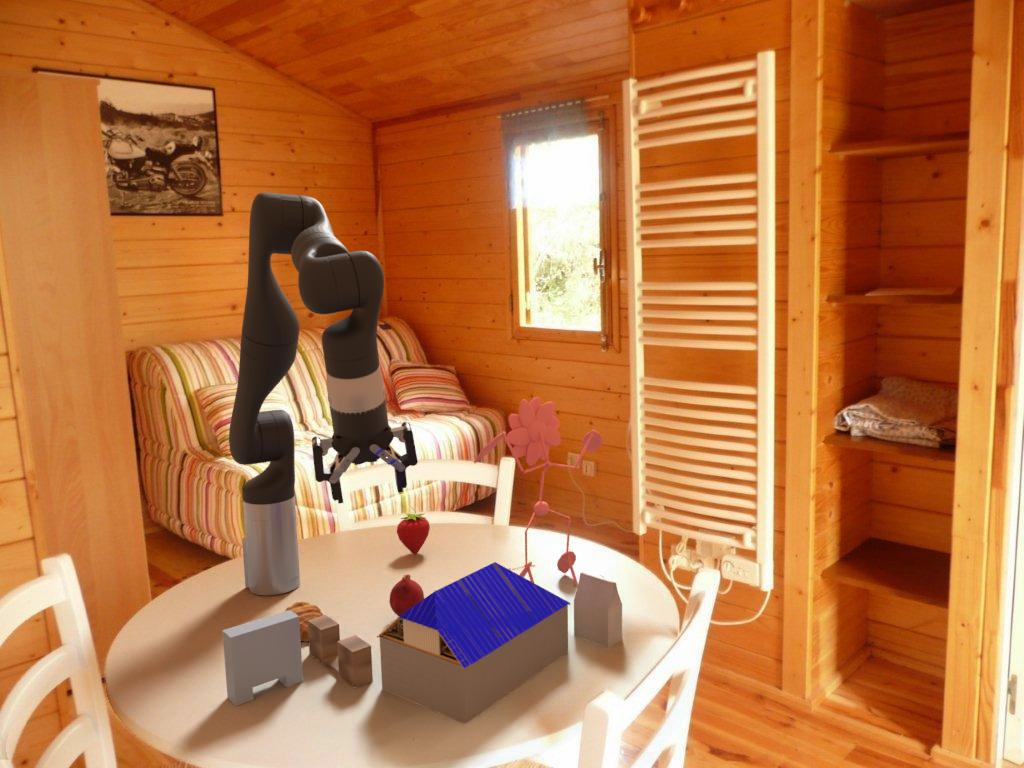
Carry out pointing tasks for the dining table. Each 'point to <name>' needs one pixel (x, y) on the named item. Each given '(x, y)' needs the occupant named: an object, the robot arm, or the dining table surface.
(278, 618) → the grey notched square slab
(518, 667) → the house
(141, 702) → the dining table surface
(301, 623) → the pastry
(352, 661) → the walnut blocks
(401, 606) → the onion
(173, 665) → the dining table surface
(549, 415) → the figurine
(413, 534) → the strawberry
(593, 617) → the grey house-shaped block
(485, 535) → the dining table surface
